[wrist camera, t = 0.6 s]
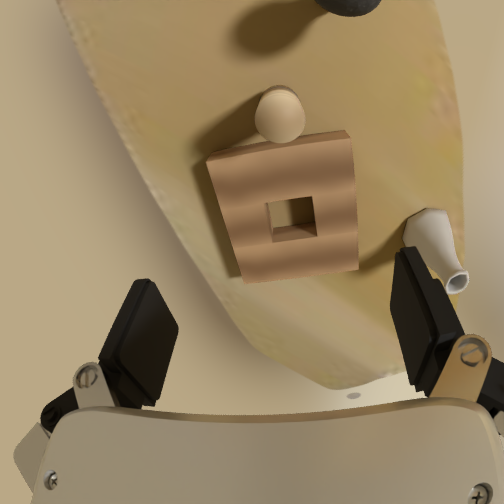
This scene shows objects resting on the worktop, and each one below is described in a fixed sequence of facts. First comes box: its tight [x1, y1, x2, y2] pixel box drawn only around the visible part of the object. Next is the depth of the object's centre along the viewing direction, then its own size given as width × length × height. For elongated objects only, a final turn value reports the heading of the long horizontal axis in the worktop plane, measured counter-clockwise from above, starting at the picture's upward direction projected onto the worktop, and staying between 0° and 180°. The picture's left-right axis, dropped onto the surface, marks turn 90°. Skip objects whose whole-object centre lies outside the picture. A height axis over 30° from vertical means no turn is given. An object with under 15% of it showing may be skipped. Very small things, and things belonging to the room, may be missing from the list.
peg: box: [255, 85, 306, 143], centre depth 24 cm, size 4×4×9 cm
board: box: [206, 130, 359, 284], centre depth 33 cm, size 16×14×3 cm
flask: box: [402, 208, 469, 294], centre depth 31 cm, size 7×7×10 cm
